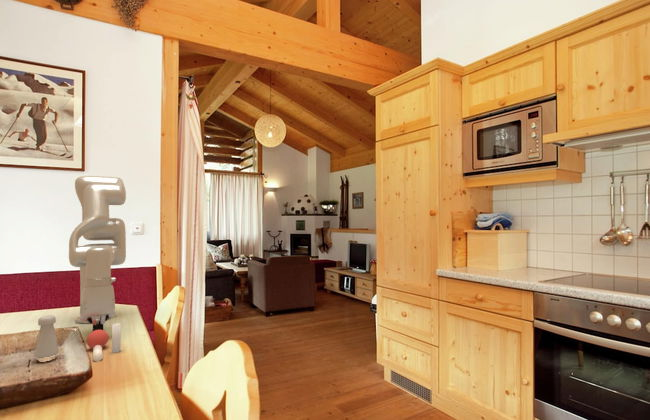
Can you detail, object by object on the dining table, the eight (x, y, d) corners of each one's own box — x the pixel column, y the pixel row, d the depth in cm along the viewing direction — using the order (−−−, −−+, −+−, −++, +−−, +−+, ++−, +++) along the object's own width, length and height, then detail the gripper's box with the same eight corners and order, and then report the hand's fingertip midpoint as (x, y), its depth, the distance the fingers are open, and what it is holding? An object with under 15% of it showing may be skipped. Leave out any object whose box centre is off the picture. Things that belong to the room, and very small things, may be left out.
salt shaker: (45, 364, 109) (45, 319, 109) (29, 363, 110) (29, 318, 110) (63, 357, 114) (63, 314, 115) (47, 355, 116) (47, 313, 116)
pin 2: (111, 351, 119) (111, 323, 119) (119, 349, 121) (119, 322, 121) (112, 353, 117) (112, 325, 118) (121, 351, 119) (121, 324, 119)
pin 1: (95, 354, 118) (95, 363, 111) (91, 347, 118) (91, 356, 110) (103, 349, 119) (104, 358, 112) (99, 343, 119) (100, 351, 111)
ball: (88, 351, 117) (91, 353, 122) (109, 342, 120) (111, 345, 125) (83, 332, 119) (86, 336, 124) (104, 324, 122) (106, 328, 127)
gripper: (120, 279, 139) (119, 329, 139) (71, 283, 129) (70, 337, 129) (124, 281, 133) (124, 333, 133) (74, 286, 124) (73, 342, 123)
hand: (97, 335), depth 131 cm, fingers closed
